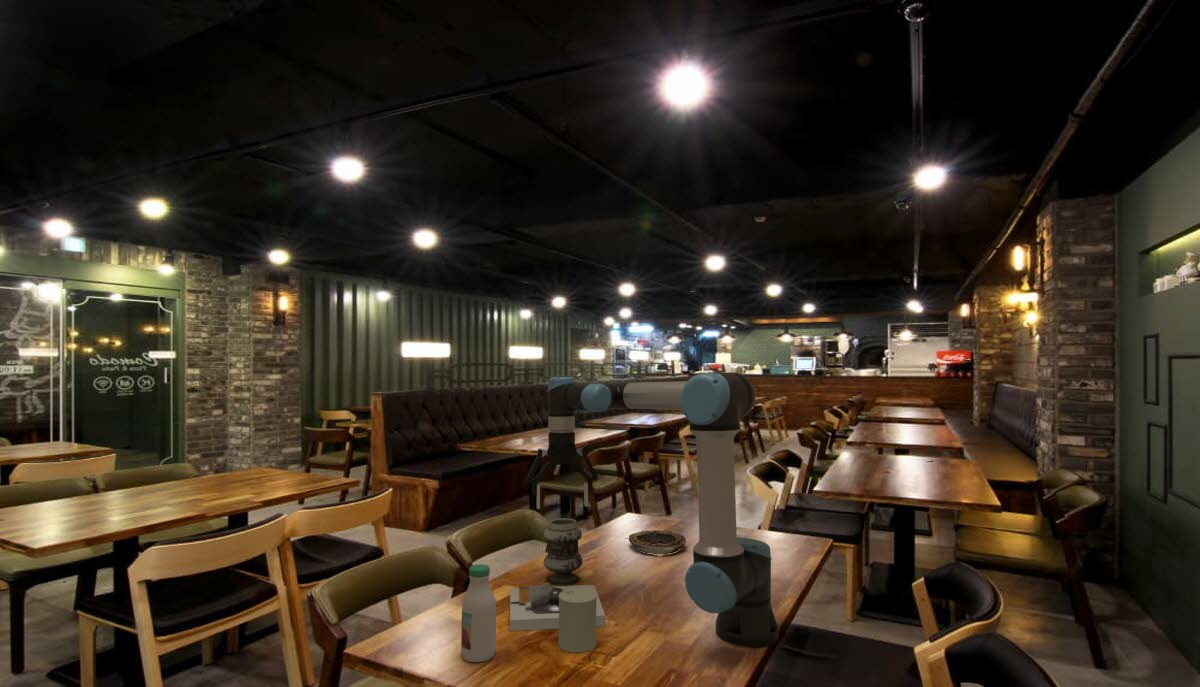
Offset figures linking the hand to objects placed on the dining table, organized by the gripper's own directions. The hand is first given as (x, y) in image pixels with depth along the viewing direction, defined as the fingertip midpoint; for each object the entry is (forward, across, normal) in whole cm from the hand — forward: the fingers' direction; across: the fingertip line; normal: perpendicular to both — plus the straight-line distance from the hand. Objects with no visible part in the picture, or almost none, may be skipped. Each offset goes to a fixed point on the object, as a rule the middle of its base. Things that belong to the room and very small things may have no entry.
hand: (562, 506), depth 177 cm
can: (+27, 0, +27) cm, 38 cm away
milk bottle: (+26, +23, +30) cm, 46 cm away
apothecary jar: (+26, -2, -17) cm, 31 cm away
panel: (+26, +3, +7) cm, 27 cm away
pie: (+27, -39, -44) cm, 64 cm away
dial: (+25, +5, +7) cm, 26 cm away
